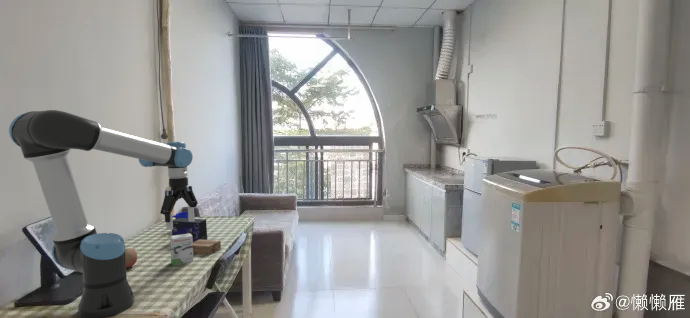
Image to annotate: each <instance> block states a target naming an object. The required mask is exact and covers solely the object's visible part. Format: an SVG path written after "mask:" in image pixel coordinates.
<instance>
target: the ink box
mask: <svg viewBox="0 0 690 318" xmlns="http://www.w3.org/2000/svg"><path fill="white" fill-rule="evenodd" d="M169 238H170V239H169V240H170V263H171V265H172V266H177V265H181V264H187V263H193V262H194V254H193V238H192V235H191V234H190V233H189V234H182V235H175V236H172V235H171V236H170V237H169Z"/></svg>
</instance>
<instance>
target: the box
mask: <svg viewBox="0 0 690 318" xmlns="http://www.w3.org/2000/svg"><path fill="white" fill-rule="evenodd" d="M189 233H190V234H191V235H192V238H193V242H195V241H197V240H199V239H202V240H208V227H207V219H206V218H205V219H203V218H195V221H194V222H191V221H189V220H188V218H178V219H176V218H175V219H173V230H171V236H175V235H182V234H189Z"/></svg>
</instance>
